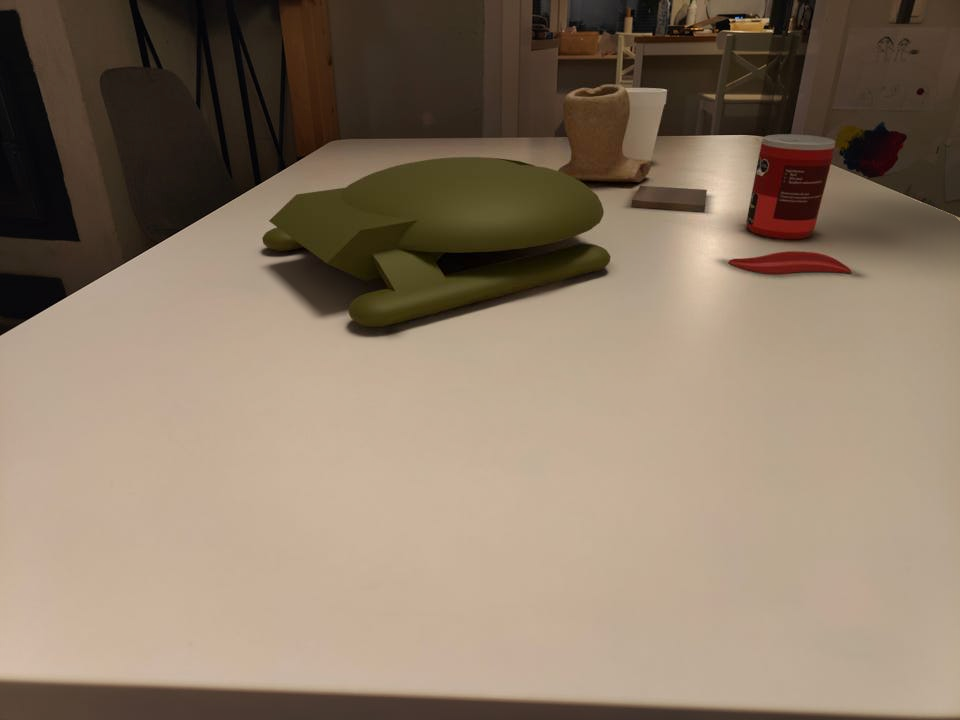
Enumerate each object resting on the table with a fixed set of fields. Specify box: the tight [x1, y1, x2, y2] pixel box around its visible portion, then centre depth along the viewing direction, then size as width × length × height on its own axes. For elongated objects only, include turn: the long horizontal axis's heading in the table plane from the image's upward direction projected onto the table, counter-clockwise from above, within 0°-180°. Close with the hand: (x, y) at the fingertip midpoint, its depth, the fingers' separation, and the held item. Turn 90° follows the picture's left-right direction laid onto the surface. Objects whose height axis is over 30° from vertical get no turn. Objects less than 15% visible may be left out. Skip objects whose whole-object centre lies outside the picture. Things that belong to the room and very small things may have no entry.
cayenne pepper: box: [727, 250, 853, 275], centre depth 64 cm, size 12×5×2 cm, turn 67°
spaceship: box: [261, 156, 611, 328], centre depth 68 cm, size 35×31×10 cm
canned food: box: [746, 133, 836, 240], centre depth 75 cm, size 8×8×11 cm
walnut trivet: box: [631, 185, 708, 213], centre depth 91 cm, size 10×10×1 cm
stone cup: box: [557, 84, 652, 183], centre depth 101 cm, size 15×12×15 cm
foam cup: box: [622, 87, 668, 161], centre depth 116 cm, size 10×9×13 cm
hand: (835, 25), depth 72 cm, fingers open, 13 cm apart
